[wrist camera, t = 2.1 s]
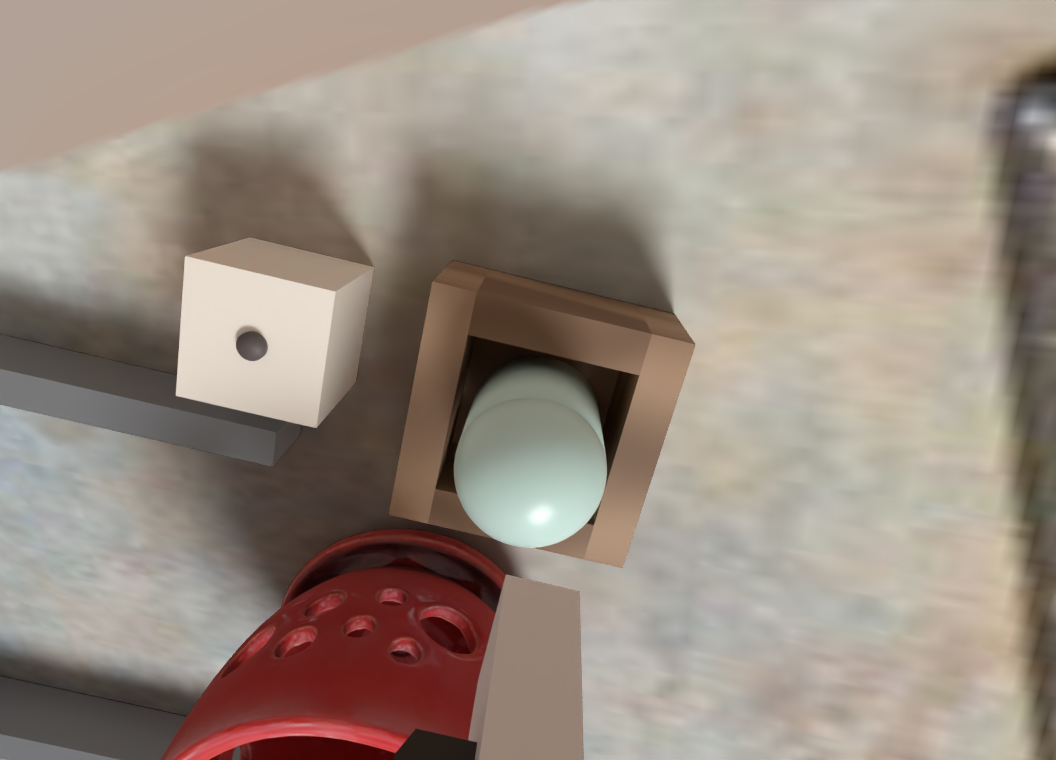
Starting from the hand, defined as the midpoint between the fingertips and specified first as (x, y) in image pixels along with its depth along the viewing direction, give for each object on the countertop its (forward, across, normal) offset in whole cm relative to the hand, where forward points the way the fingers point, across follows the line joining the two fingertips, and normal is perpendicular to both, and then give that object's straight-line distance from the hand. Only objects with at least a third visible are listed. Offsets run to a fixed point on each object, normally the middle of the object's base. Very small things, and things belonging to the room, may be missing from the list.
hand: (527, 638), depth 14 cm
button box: (+15, 0, 0) cm, 15 cm away
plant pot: (+16, +3, +13) cm, 21 cm away
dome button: (+13, 0, 0) cm, 13 cm away
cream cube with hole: (+15, +10, -1) cm, 19 cm away
